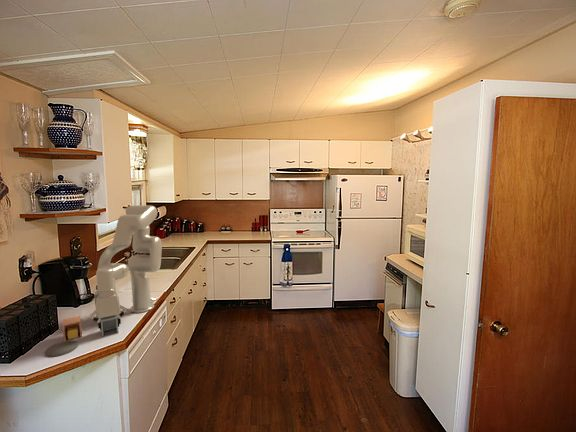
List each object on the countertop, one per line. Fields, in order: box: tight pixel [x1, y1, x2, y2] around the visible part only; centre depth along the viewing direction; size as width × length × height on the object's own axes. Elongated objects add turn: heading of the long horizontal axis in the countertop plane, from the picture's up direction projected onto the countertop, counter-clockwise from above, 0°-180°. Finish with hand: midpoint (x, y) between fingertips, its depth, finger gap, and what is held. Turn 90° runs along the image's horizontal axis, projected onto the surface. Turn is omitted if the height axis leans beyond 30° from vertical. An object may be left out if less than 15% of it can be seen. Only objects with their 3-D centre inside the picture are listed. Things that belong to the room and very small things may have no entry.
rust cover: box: [62, 315, 83, 342], centre depth 153 cm, size 7×7×8 cm
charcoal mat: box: [44, 340, 79, 358], centre depth 141 cm, size 12×12×1 cm
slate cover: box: [101, 315, 119, 337], centre depth 157 cm, size 7×7×8 cm
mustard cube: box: [67, 326, 79, 340], centre depth 153 cm, size 4×4×4 cm
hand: (109, 327), depth 157 cm, fingers closed on slate cover, 7 cm apart
